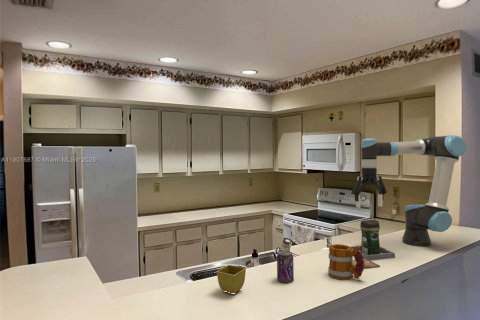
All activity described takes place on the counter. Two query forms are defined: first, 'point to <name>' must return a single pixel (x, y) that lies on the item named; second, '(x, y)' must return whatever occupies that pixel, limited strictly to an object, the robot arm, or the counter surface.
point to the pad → (366, 264)
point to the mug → (345, 262)
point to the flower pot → (231, 278)
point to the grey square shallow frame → (385, 255)
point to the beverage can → (285, 266)
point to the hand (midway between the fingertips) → (369, 207)
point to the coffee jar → (370, 237)
